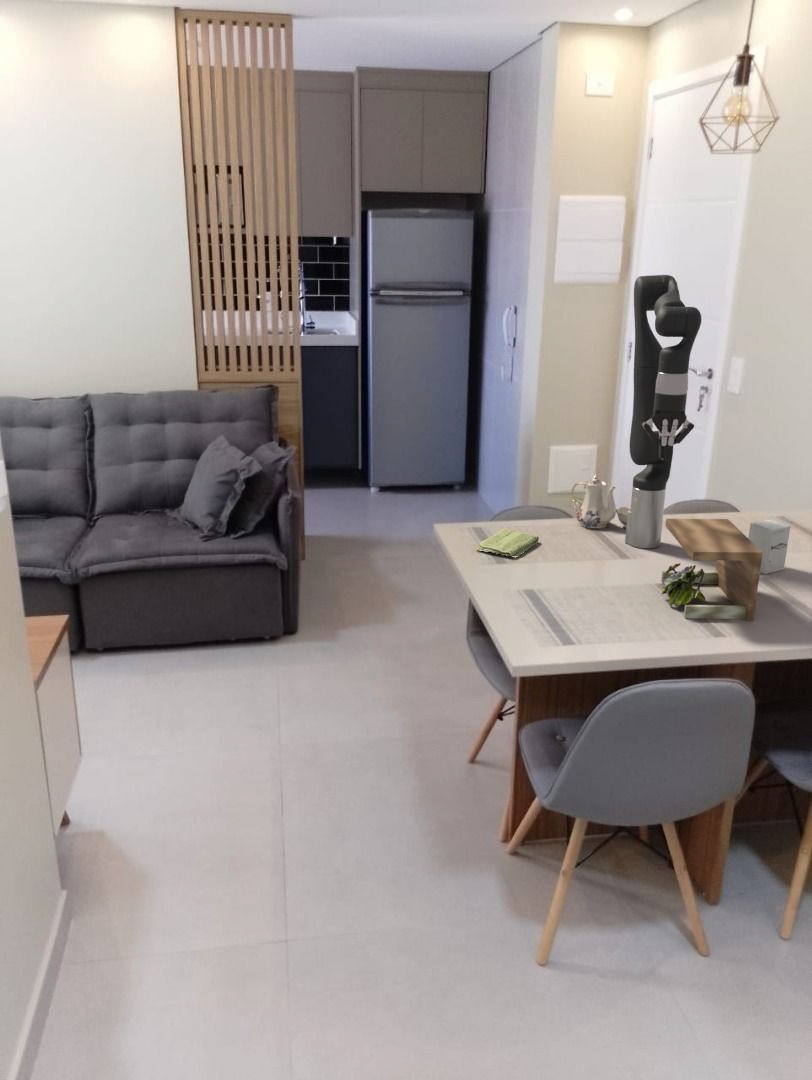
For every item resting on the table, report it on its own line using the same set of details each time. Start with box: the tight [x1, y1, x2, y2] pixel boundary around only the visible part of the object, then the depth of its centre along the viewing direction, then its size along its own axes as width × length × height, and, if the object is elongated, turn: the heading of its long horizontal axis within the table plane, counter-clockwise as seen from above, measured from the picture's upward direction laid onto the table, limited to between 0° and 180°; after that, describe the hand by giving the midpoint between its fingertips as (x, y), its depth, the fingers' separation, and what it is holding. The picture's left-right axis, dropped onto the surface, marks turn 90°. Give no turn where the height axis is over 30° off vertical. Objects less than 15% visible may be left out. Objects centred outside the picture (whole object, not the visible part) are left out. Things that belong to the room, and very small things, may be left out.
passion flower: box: [660, 562, 706, 608], centre depth 216 cm, size 11×11×12 cm
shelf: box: [660, 518, 763, 622], centre depth 215 cm, size 16×25×17 cm, turn 178°
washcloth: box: [475, 528, 540, 557], centre depth 255 cm, size 13×18×3 cm
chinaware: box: [568, 474, 631, 529], centre depth 275 cm, size 28×17×17 cm, turn 46°
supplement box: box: [747, 519, 791, 575], centre depth 236 cm, size 7×7×13 cm
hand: (664, 459), depth 221 cm, fingers closed
